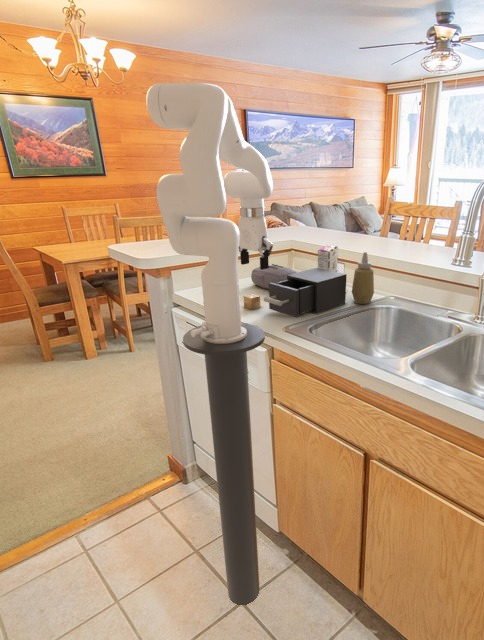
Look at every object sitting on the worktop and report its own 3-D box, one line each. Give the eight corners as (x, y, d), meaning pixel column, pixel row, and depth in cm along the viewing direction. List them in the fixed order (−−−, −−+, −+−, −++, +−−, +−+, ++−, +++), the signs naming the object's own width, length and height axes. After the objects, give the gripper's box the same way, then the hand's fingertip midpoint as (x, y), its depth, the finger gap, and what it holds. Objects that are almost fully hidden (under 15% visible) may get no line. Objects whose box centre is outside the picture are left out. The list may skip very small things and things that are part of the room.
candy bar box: (325, 285, 180) (326, 244, 173) (337, 286, 178) (338, 245, 171) (316, 292, 170) (317, 249, 163) (328, 293, 169) (330, 250, 162)
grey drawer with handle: (285, 321, 136) (285, 293, 133) (258, 312, 144) (257, 285, 140) (325, 307, 150) (326, 281, 146) (298, 299, 157) (298, 275, 154)
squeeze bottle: (376, 301, 161) (380, 251, 153) (367, 306, 155) (371, 255, 147) (357, 297, 165) (359, 249, 157) (347, 302, 158) (349, 252, 151)
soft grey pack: (246, 285, 177) (282, 295, 165) (245, 264, 173) (281, 273, 162) (273, 278, 187) (308, 287, 176) (272, 259, 184) (308, 266, 172)
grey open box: (316, 314, 146) (317, 282, 142) (287, 305, 154) (286, 275, 150) (345, 303, 157) (346, 274, 153) (316, 296, 165) (316, 267, 161)
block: (251, 309, 149) (251, 298, 147) (243, 307, 151) (243, 296, 150) (260, 307, 152) (259, 296, 150) (252, 304, 154) (252, 293, 152)
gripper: (225, 211, 142) (229, 263, 149) (261, 216, 132) (263, 272, 139) (243, 209, 147) (246, 260, 154) (279, 214, 137) (280, 268, 144)
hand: (254, 266), depth 147 cm, fingers open, 9 cm apart
